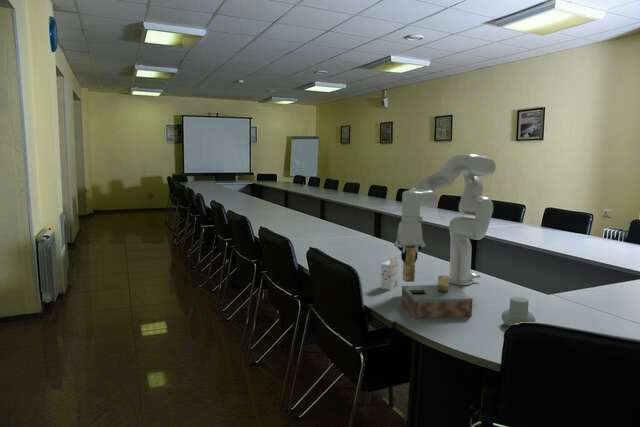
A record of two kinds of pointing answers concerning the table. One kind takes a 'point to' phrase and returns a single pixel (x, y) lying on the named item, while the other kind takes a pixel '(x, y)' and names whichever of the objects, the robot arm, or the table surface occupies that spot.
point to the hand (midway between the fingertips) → (409, 260)
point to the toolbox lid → (437, 292)
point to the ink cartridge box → (389, 273)
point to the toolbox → (436, 307)
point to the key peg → (409, 264)
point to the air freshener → (517, 312)
